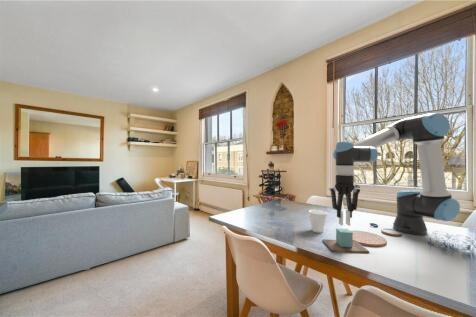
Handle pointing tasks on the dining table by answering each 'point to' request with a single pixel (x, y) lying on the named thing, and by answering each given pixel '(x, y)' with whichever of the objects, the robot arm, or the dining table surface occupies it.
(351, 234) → the teal block
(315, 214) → the cup
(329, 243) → the dark wooden tray
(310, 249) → the dining table surface
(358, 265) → the dining table surface
